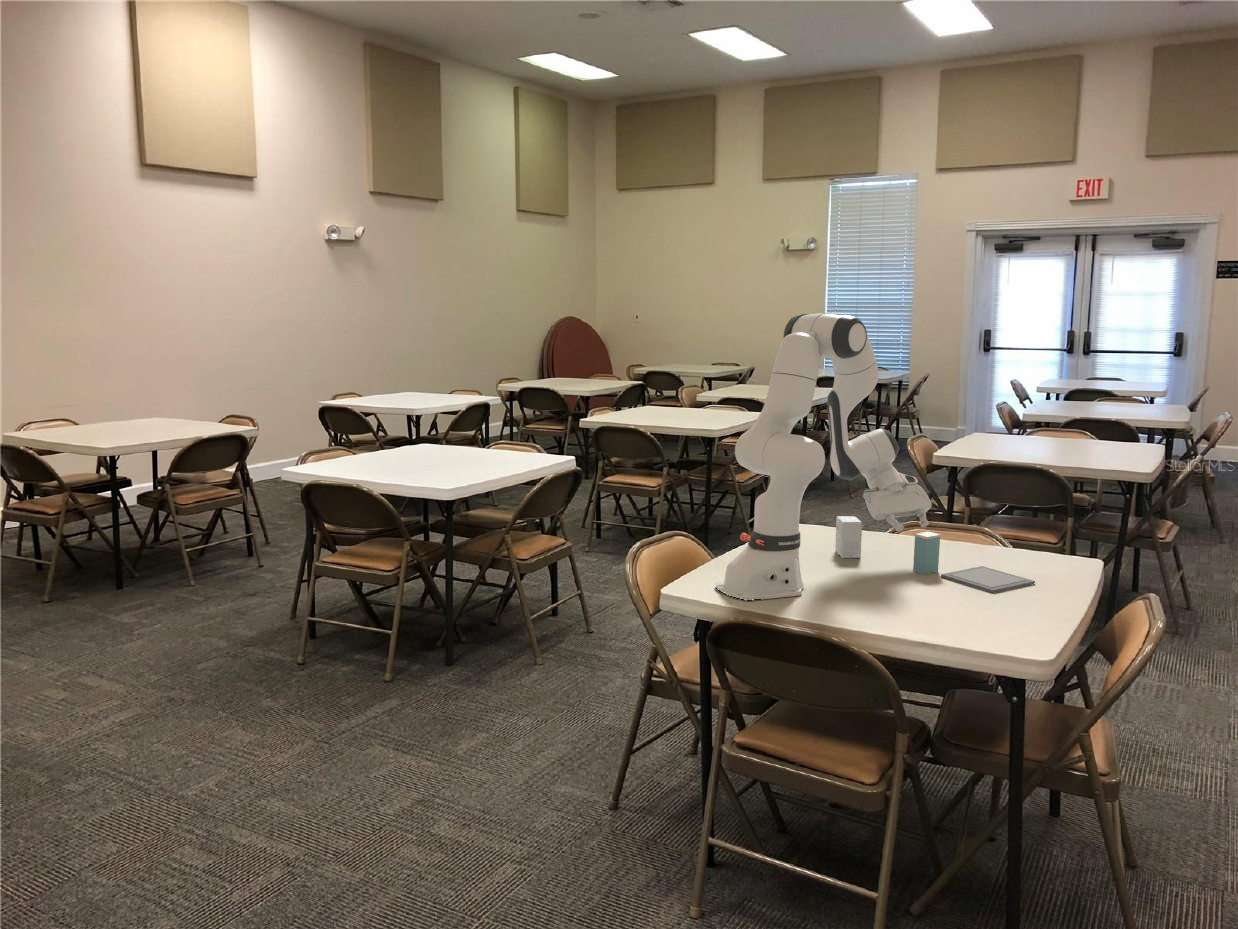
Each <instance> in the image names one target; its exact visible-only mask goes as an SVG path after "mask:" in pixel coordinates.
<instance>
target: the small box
mask: <svg viewBox="0 0 1238 929" xmlns="http://www.w3.org/2000/svg"><path fill="white" fill-rule="evenodd" d="M835 519H836V520H835V522H836V523H835V545H834V546H835V547H834V548H835V550H834V551H835V552H836V554H837V555H838V556H839V555H840V556H839V557H840V558H841V559H854V558H855V559H859V558H860V559H861V558H862V534H863V532H862V531H863V530H862V529H863V522H862V521H861V520H860V519H859V518H858V517H856V516H847V515H846V516H845V515H844V516H839V515H838V516H837V515H836V517H835Z"/></svg>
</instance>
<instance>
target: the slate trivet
mask: <svg viewBox="0 0 1238 929" xmlns="http://www.w3.org/2000/svg"><path fill="white" fill-rule="evenodd" d="M940 578H942V579H945V580H949V581H952V582H954V583H959V584H962V585H965V586H968V587H971V588H975V589H977V590H981V589H982V590H981V591H984V590H985V591H984V592H987V593H990V592H992V593H991V594H995V593H994V592H997V593H1000V591H1001V592H1005V591H1004V590H1006V591H1008V590H1007V589H1010V590H1014V588H1015V589H1019V588H1022V587H1021V586H1024V587H1026V586H1025V585H1028V586H1032V585H1031V584H1033V585H1035V584H1036V580H1033V579H1030V578H1025V577H1021V576H1018V575H1015V574H1012V573H1007V572H1004V571H1000V570H996V569H994V568H990V567H987V566H977V567H971V568H966V569H962V570H955V571H952V572H951V571H950V572H945V573H942V574H940ZM1034 583H1035V584H1034ZM1018 587H1019V588H1018Z"/></svg>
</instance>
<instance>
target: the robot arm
mask: <svg viewBox="0 0 1238 929" xmlns="http://www.w3.org/2000/svg"><path fill="white" fill-rule="evenodd" d="M821 359H830V360H831V365H832V369H833V373H834V374H833V375H834V379H833V386H832V389H831V390H830V392H829V393H828V395H827V401H826V403H827V404H826V405H827V408H826V409H827V422H828V432H829V447H830V448H829V461H830V467H831V469H832V471H833V473H834V475H836V476H837V477H838V478H840V479H843V480H848V481H852V480H855V479H856V478H858V477H860V476H863V477H864V478H865V480H866V483H867V484H866V485H868V488H865V489H864V491H863V492H862V497H863V499H864V500H865V504H866V507H867V509H868V512H869V513H870V515H871V517H872V518H873V519H874V520H876V521H883V520H885V521H886V522H887V523H888V524H889V525H891V526H892V527H893V528H894V530H895V531H896V532H901V531H902V530H904V529H905V526H904V524H903V523H902V522H899V521H898V520H897V519H896V518H900V517H907V516H915V515H916V517H917V518H919V521H918V524H919V526H920V527H921V528H925V527H927V526H929V524H930V523H929V521H928V519H927V512H928V511H929V510H930V509H931V508H932V506H933V505H932V504H933V503H932V500H931V499H930V497H929V496H928V495H927V494H928V493H926V491H925V490H924V489H923V487H921V485H919V484H918V482H919V481H918V478H917V477H915V476H913V475H908V474H904V473H901V472H898V470H897V468H895V466H893V462H894V461H895V460H896V458H897V456H898V453H899V451H900V445H899V443H898V441H897V439H896V438H895V436H894V435H893V433H892V432H891V431H889V430H887V429H884V428H878V429H874V430H872V431H868V432H867V433H864V434H861V435H859V436H856V437H855V438H853V439H850V440H849V435H848V434H849V433H848V431H849V430H848V417H849V415H850V414H851V412H852V411H853V410H854V409H855V407H856V406H857V405H858V404H859V403H860V402H862V401H863V400H864V399H865V398H867V397H868V396H869V395H871V393H872V392H873V390H874V389H875V388H876V386H877V383H878V382H879V367H878V362H877V359H876V355H875V351H874V348H873V345H872V343H871V340H870V338H869V336H868V332H867V328H866V326H865V325H864V323H863V321H862V320H861V319H860V318H859V317H856V316H853V315H847V314H844V315H841V314H839V315H838V314H830V313H825V312H823V313H822V312H821V313H810V314H808V313H801V314H798V315H795V316H793V317H791V318H790V319H789V320H788V322H787V323H786V325H785V328H784V331H783V339H782V340H781V343H780V345H779V348H778V350H777V353H776V356H775V360H774V362H773V366H772V370H771V375H770V381H769V385H768V390H767V394H766V398H765V400H764V404H763V407H762V410H761V411H760V414H759V415H758V417H757V419H756V420H755V422H754V423H753V424H752V425H751V427H750V428H749V429H747V430H746V431H745V432H744V433H742V434H741V435H740V436H739V438H738V439H737V441H736V444H735V447H734V455H735V459H736V461H737V463H738V464H739V465H740V466H741V467H743V468H745V469H746V470H749V471H750V472H753V473H755V474H760V475H765V476H769V477H770V480H769V485H768V487H767V489H766V491H765V492H763V493H761V494H760V495H759V496H757V498H756V499H755V501H754V520H753V521H754V523H753V530H752V531H751V534H748V533H746V532H741V534H740V537H739V538H740V540H741V541H742V542H746V543H747V546H746V547H745V548H744V549H743V550H742V551H741V552H740V553H739V554H737V556H736V557H734V558H733V559H732V560H731V561H729V563H728V564H727V566H726V570H725V573H724V574H725V575H724V580H721V581H719V582H716V583H715V585H716V588H717V589H719V590H720V591H721V592H725V593H726V594H728V595H730V596H733V597H737V598H741V599H746V600H745V601H747V600H752V599H761V600H768V599H778V598H779V599H780V598H787V597H788V598H789V597H795V596H796V597H798V596H802V594H803V592H802V590H804V583H803V579H802V574H801V566H800V565H801V564H800V554H799V553H800V552H799V551H800V547H801V531H800V515H801V504H802V500H803V496H804V494H805V491H806V490H807V488H808V486H809V485H810V484H811V482H812V481H813V480H815V479H817V477H818V476H819V475H820V474H821V473H822V471H823V469H824V467H825V464H826V455H825V450H824V448H823V446H822V445H821V444H820V443H819V442H818V441H816V440H814V439H811V438H809V437H807V436H804V435H801V434H792V431H793V428H794V427H795V426H796V424H797V423H798V422H799V421H800V420H801V419H804V418H805V417H807V416H808V415H809V414H810V413H811V410H812V406H813V401H814V396H815V391H816V385H817V380H818V375H819V368H820V360H821ZM716 588H715V589H716ZM717 589H716V590H717ZM721 592H720V593H721ZM728 595H727V596H728ZM730 596H729V597H730ZM733 597H732V598H733ZM741 599H740V600H741ZM752 601H753V600H752Z"/></svg>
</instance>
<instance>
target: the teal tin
mask: <svg viewBox="0 0 1238 929" xmlns="http://www.w3.org/2000/svg"><path fill="white" fill-rule="evenodd" d="M941 537H942V536H941V534H940V533H936V532H931V531H922V532H918V533H917V532H916V533H914V547H913V548H914V549H913V565H912V567H913V570H912V571H913V572H916V573H919V574H922V575H929V574H934V572H935V573H938V572H939V563H940V562H939V561H940V559H939V558H940V544H941V542H940V541H941Z"/></svg>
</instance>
